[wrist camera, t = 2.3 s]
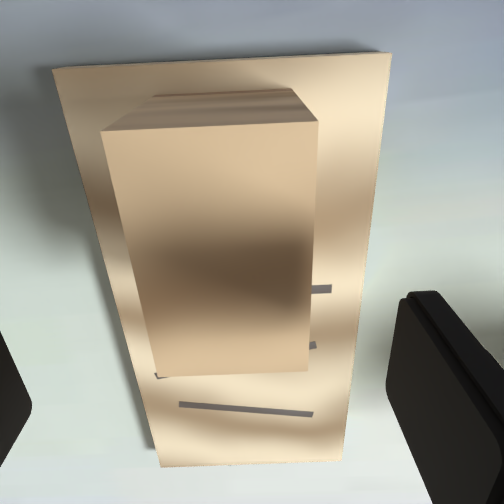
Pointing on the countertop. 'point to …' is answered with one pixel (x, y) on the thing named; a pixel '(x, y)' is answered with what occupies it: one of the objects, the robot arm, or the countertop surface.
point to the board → (324, 254)
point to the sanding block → (220, 227)
